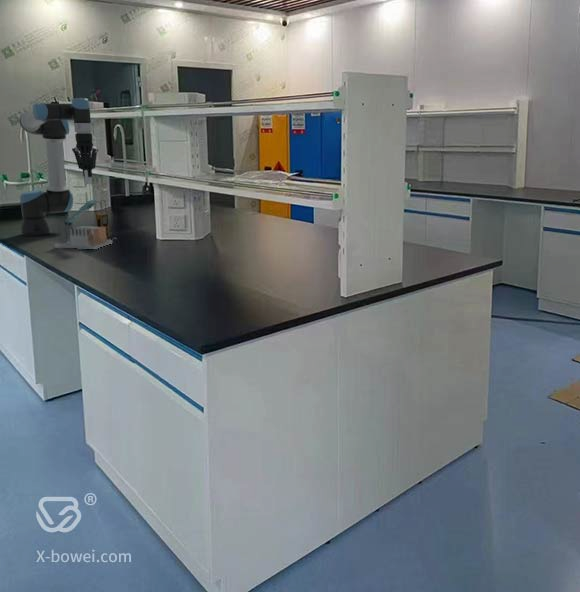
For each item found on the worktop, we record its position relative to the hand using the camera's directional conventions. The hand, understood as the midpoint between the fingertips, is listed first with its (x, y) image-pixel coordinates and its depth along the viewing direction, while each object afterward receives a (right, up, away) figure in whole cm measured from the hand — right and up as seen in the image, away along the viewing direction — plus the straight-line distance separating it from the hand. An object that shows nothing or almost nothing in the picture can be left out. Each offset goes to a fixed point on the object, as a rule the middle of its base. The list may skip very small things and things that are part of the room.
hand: (88, 184), depth 297 cm
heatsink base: (-5, -29, +10) cm, 31 cm away
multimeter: (+2, -24, +29) cm, 37 cm away
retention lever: (-6, -14, +6) cm, 17 cm away
